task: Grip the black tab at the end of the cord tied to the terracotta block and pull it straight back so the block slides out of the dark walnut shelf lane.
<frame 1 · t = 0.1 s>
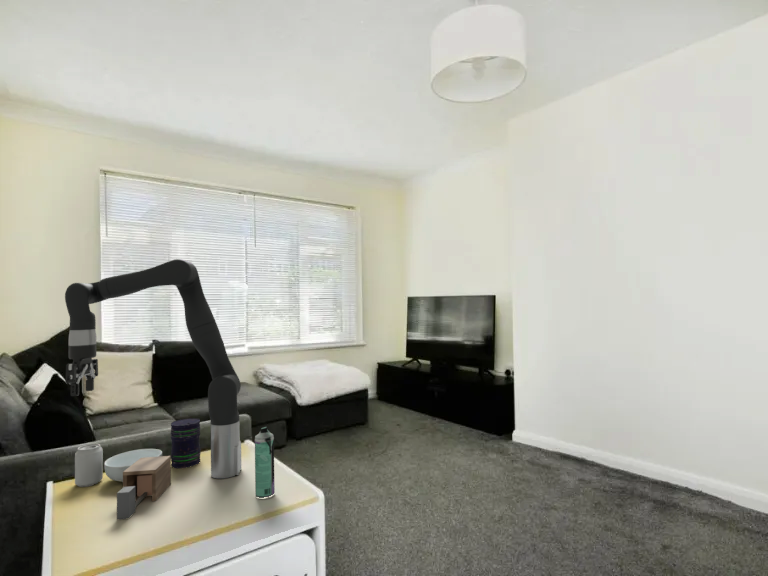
hand: (82, 393, 141), 29 cm above the table, tool pointing down, fingers open, 8 cm apart
storage jar: (185, 463, 156), on the table
block with cord: (149, 492, 132), on the table
cereal bowl: (134, 478, 144), on the table
can: (88, 483, 140), on the table
shelf lane: (148, 493, 131), on the table
spray can: (265, 496, 128), on the table
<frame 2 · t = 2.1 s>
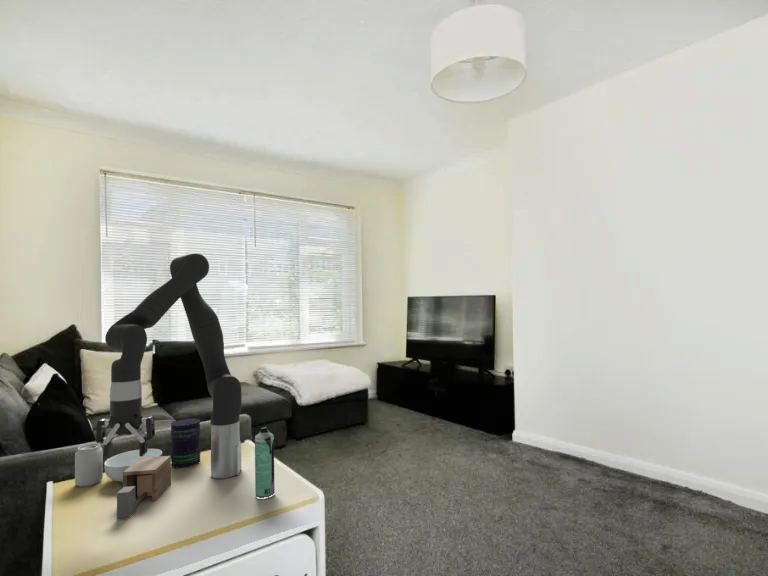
hand: (125, 456, 118), 16 cm above the table, tool pointing down, fingers open, 8 cm apart
nothing on the table moved.
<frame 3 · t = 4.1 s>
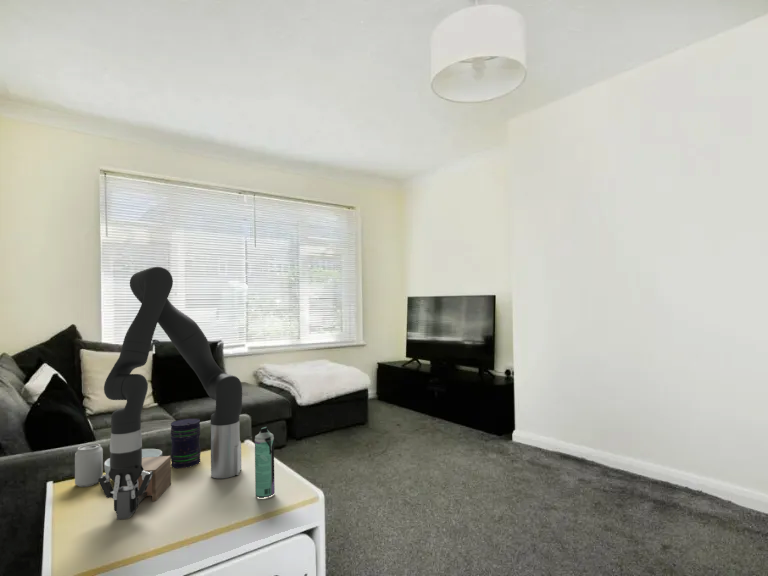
hand: (126, 511, 117), 1 cm above the table, tool pointing down, fingers closed on block with cord, 3 cm apart
block with cord: (149, 492, 132), on the table, touching gripper
everything else where it was.
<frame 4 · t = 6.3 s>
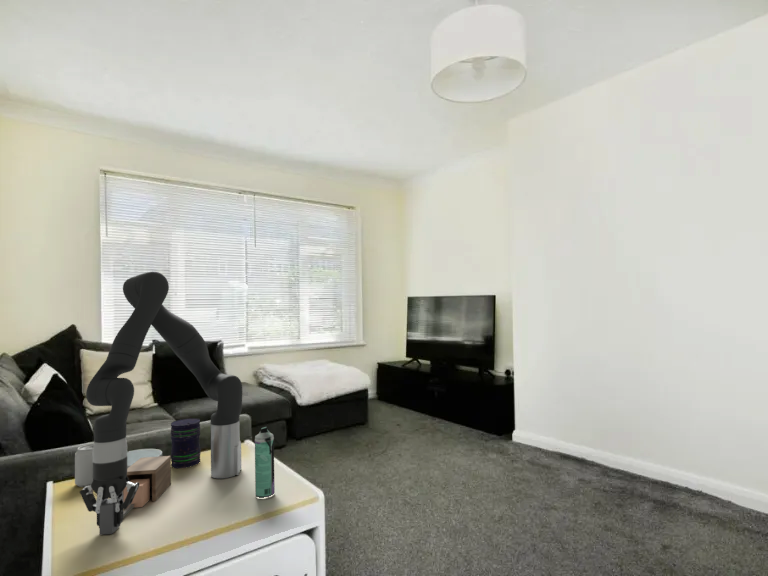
hand: (109, 525, 109), 1 cm above the table, tool pointing down, fingers closed on block with cord, 3 cm apart
block with cord: (136, 503, 124), on the table, touching gripper
everything else where it was.
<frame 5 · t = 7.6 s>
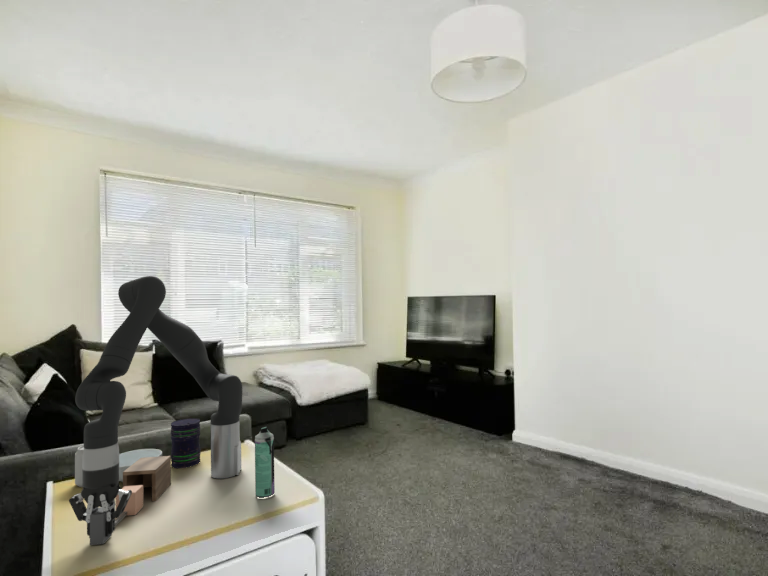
hand: (100, 535, 105), 1 cm above the table, tool pointing down, fingers closed on block with cord, 3 cm apart
block with cord: (129, 511, 119), on the table, touching gripper
everything else where it was.
when the fingers open (1 cm above the table, at t = 8.7 s): block with cord stays where it is, on the table.
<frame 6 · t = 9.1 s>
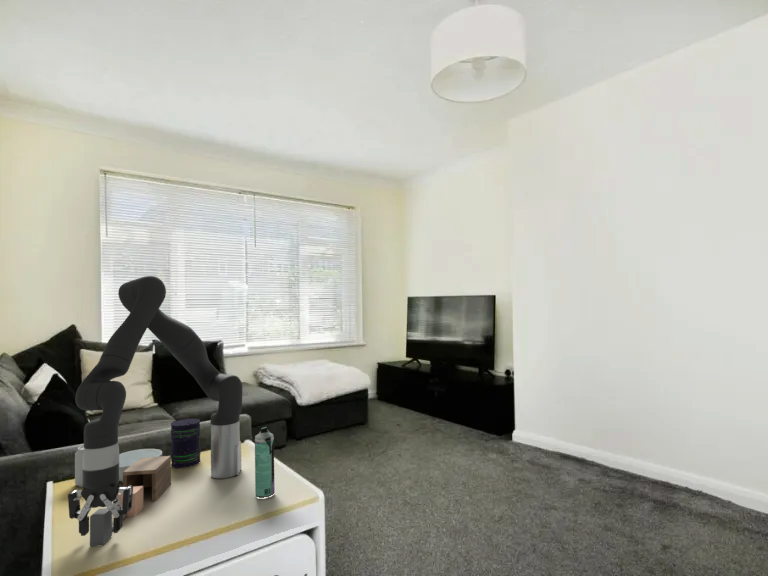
hand: (101, 532, 105), 2 cm above the table, tool pointing down, fingers open, 6 cm apart
block with cord: (129, 512, 119), on the table
everything else where it was.
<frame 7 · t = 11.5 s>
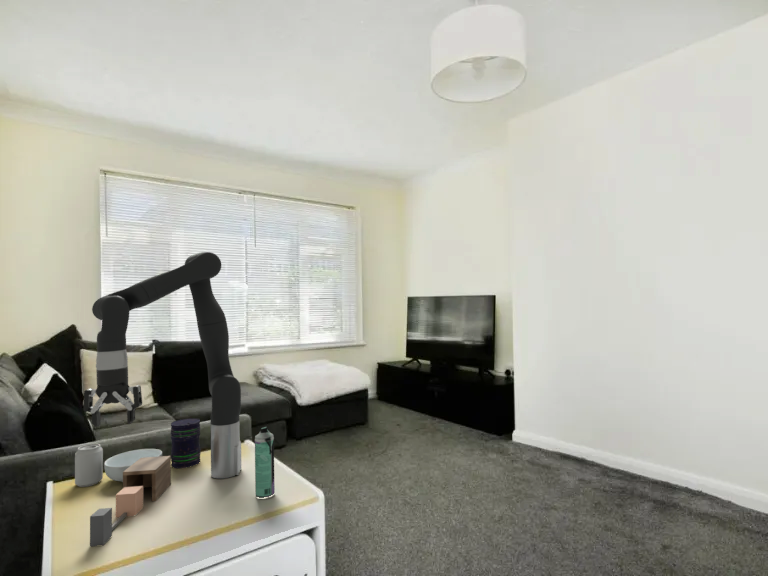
hand: (113, 424, 121), 24 cm above the table, tool pointing down, fingers open, 8 cm apart
nothing on the table moved.
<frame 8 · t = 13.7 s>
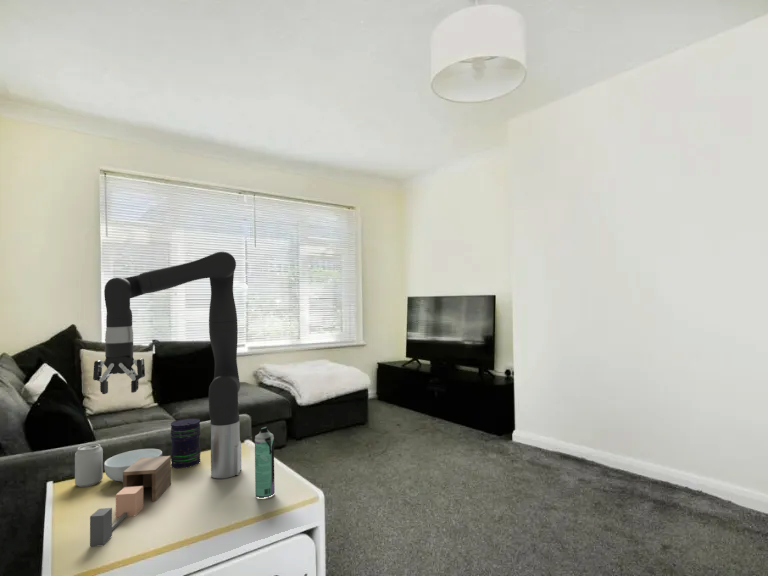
hand: (119, 392, 135), 30 cm above the table, tool pointing down, fingers open, 8 cm apart
nothing on the table moved.
at the end: block with cord inside the target area (9.0 cm from its centre), on the table; block with cord moved 13.1 cm from its start; the gripper is holding nothing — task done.
